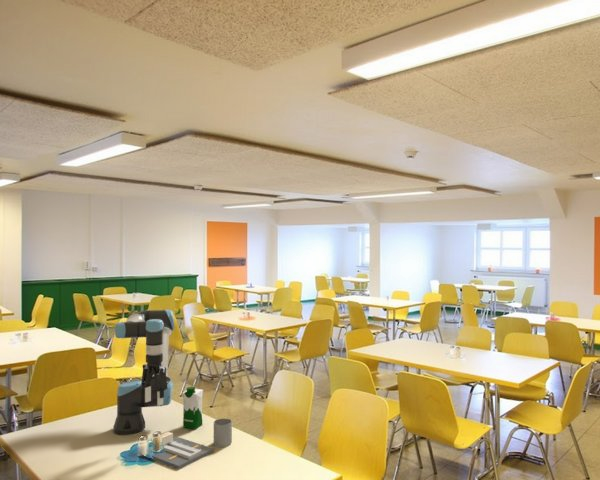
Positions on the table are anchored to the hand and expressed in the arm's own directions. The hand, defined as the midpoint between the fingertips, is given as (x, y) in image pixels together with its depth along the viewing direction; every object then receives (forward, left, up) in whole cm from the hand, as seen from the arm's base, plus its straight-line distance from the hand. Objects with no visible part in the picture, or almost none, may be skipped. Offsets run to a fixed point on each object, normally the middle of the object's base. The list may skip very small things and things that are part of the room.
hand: (154, 403), depth 215 cm
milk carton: (-2, +26, -19) cm, 33 cm away
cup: (+25, +19, -19) cm, 37 cm away
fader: (+8, 0, -18) cm, 19 cm away
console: (+16, 0, -19) cm, 25 cm away
